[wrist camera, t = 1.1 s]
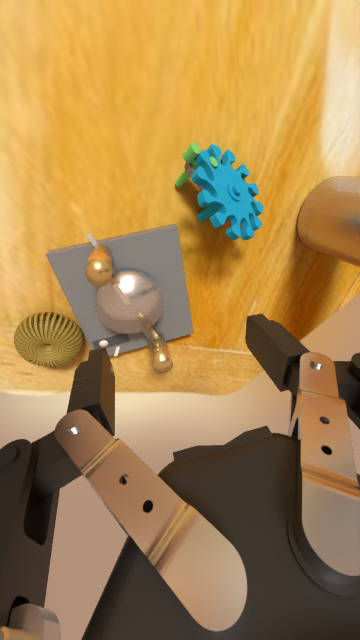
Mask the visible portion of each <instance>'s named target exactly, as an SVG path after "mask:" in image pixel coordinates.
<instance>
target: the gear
mask: <svg viewBox="0 0 360 640" xmlns="http://www.w3.org/2000/svg"><path fill="white" fill-rule="evenodd" d="M220 155H221V150H220V148H219V147H218V146H216V145H213V144H212V145H211V146H210V147H209V148H208V149H207V151H206V150H203V151H201V152H200V149H199V147H198V145H197V144H195V143H192V144H191V145H190V146H189V147H188V149H187V150H186V151H185V152H184V154H183V158H184V160H185V161H186V162H187V163H186V164H185V170H186V171H185V172H184V173H183V174H182V175H181V176H180V177H179V179H178V180H177V181H176V182H175V184H176V186H177V187H178V188H180V187H181V186H182V185H183V184H184V183H185V182H186V181H187V179H188V178H189V177H191V179H192V181H193V182H194V183H195V184H197V186H198V187H199V188H200V189H201V190H202V191H201V192H200V193H199V194H198V195H197V199H198V203H199V206H200V207H202V208H204V207H206V206H208V207H207V208H205V209H204V210H203V211H202V212H200V213H199V214H198V219H199V221H201V222H203V221H204V220H206V219H207V218H208V217H210V216H211V215H212V214H213V215H212V216H211V217H210V221H211V223H212V224H213V226H214V227H215V229H217V228H219V227H220V226H222V225H223V224H224V223H225V220H226V219H228V220H229V221H230V222H231V227H230V228H228V229H227V230H226V235H227V236H228V237H229V238H230V239H232V240H235V239H237V238H239V237H240V236H241V238H242V239H244V240H248V239H250V238H252V237H254V231H255V230H257V229H259V228H260V227H261V226H262V223H261V221H260V219H258V217H257V216H258V215H260V214H261V213H262V211H263V206H262V204H261V203H259V202H257V201H255V200H254V199H253V197H254V196H256V195H257V194H258V188H257V185H256V184H255V183H253V184H248V183H246V182H245V181H243V179H244V178H245V177H246V176H248V175H249V172H248V170H247V168H246V166H245V165H244V164H242V165H241V166H240V167H239V168H238V169H236V171H235V170H233V169H232V167H231V164H232V163H233V162H234V161H235V156H234V154H233V153H232V152H231V151H230V150H229V149H228V150H227V151H226V152H225V153H224V154H223V155H222V164H221V162H220V160H219V157H220ZM196 156H197V157H196ZM218 210H219V212H216V211H218ZM215 212H216V213H215ZM214 213H215V214H214ZM240 224H241V226H242V230H241V231H240Z"/></svg>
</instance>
